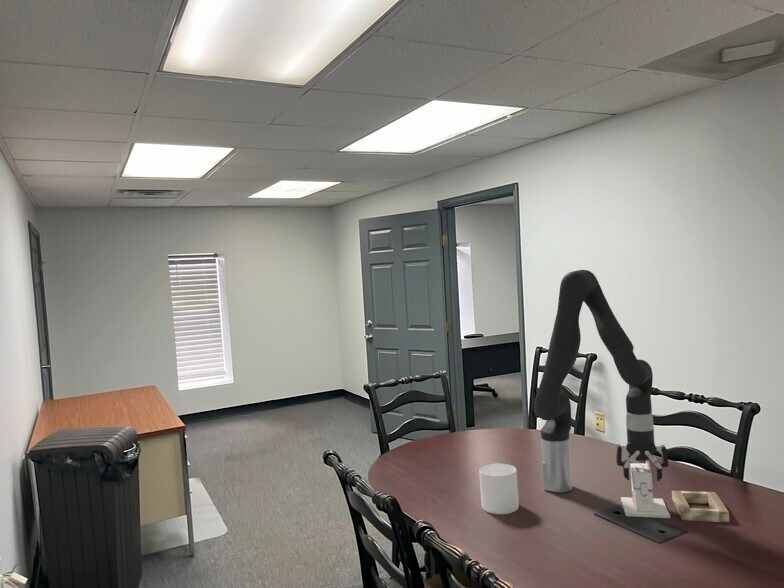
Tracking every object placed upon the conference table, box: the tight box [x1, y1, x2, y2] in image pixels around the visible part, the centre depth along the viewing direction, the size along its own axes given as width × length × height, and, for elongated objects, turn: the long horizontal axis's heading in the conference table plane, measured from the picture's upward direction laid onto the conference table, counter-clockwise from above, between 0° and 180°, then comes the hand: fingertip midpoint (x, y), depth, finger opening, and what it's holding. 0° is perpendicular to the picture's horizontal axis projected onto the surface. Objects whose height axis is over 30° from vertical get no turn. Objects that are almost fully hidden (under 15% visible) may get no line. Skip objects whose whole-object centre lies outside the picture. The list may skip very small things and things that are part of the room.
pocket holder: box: [671, 490, 730, 523], centre depth 167 cm, size 12×14×3 cm
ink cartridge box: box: [629, 460, 654, 511], centre depth 171 cm, size 9×5×15 cm, turn 167°
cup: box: [478, 462, 520, 515], centre depth 180 cm, size 12×12×12 cm
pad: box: [620, 496, 671, 519], centre depth 171 cm, size 12×12×1 cm
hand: (642, 479), depth 171 cm, fingers open, 8 cm apart
